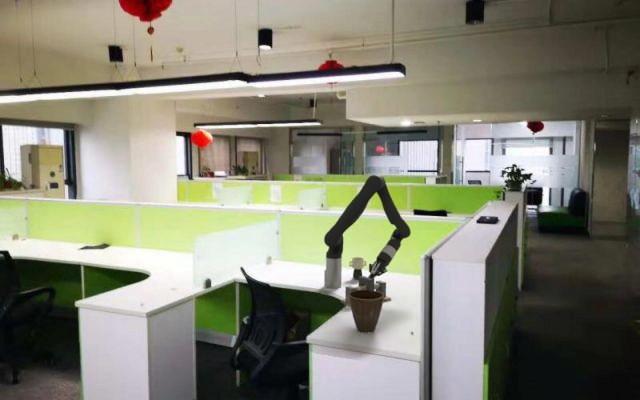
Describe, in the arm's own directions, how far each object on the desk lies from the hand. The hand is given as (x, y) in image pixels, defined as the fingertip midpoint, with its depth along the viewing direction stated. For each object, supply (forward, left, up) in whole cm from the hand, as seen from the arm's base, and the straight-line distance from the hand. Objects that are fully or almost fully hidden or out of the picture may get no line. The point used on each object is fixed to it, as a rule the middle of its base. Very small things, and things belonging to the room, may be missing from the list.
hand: (369, 280), depth 253 cm
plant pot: (+19, -42, -11) cm, 47 cm away
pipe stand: (-1, -2, -11) cm, 11 cm away
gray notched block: (-1, -2, -7) cm, 7 cm away
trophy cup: (-28, +40, -11) cm, 50 cm away
